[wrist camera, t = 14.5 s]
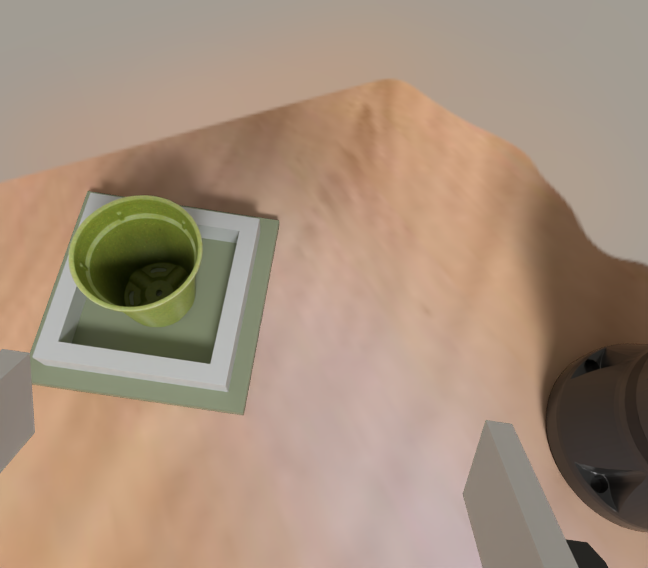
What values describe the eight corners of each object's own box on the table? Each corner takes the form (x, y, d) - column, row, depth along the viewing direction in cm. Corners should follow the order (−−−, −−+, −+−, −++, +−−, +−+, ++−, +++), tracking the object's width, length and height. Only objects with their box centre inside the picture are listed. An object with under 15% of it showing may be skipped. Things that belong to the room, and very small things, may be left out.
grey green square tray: (279, 225, 52) (279, 206, 49) (243, 415, 45) (241, 407, 42) (91, 196, 51) (78, 175, 48) (25, 383, 44) (5, 373, 41)
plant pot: (101, 254, 48) (66, 203, 40) (208, 238, 50) (194, 186, 42) (107, 355, 45) (70, 321, 37) (221, 335, 46) (209, 298, 38)
